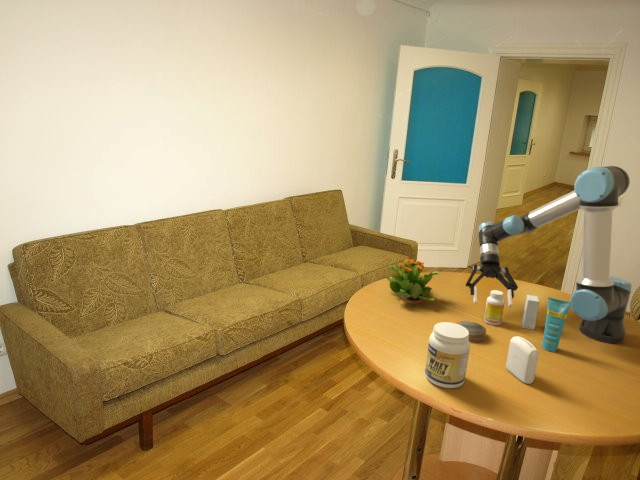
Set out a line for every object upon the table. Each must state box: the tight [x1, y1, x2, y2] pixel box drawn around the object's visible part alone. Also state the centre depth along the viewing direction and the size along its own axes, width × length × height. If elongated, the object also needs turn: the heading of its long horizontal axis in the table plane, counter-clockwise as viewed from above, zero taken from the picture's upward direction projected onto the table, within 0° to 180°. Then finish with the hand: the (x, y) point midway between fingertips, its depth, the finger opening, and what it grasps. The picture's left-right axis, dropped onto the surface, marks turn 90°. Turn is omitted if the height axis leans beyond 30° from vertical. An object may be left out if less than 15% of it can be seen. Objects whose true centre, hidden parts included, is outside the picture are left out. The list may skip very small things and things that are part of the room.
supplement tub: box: [424, 321, 471, 389], centre depth 142 cm, size 12×12×17 cm
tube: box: [541, 296, 572, 353], centre depth 163 cm, size 7×5×19 cm, turn 60°
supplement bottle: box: [483, 289, 506, 326], centre depth 183 cm, size 7×7×13 cm
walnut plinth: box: [455, 320, 487, 343], centre depth 173 cm, size 11×11×3 cm
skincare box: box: [521, 294, 540, 331], centre depth 182 cm, size 6×4×12 cm
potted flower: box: [384, 258, 441, 304], centre depth 201 cm, size 25×24×18 cm
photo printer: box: [505, 335, 539, 385], centre depth 146 cm, size 10×4×12 cm, turn 15°
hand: (492, 304), depth 184 cm, fingers open, 13 cm apart
